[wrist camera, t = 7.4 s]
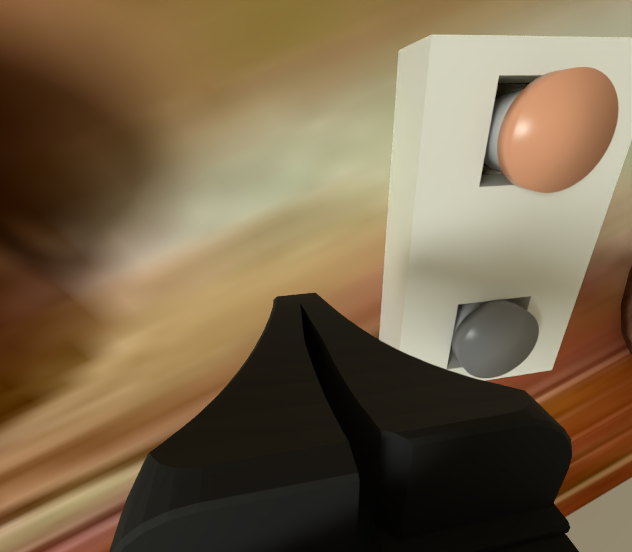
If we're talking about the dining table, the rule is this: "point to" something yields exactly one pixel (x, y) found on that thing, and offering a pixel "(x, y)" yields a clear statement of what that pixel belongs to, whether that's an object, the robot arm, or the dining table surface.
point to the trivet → (627, 312)
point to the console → (486, 195)
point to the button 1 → (493, 337)
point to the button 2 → (553, 129)
